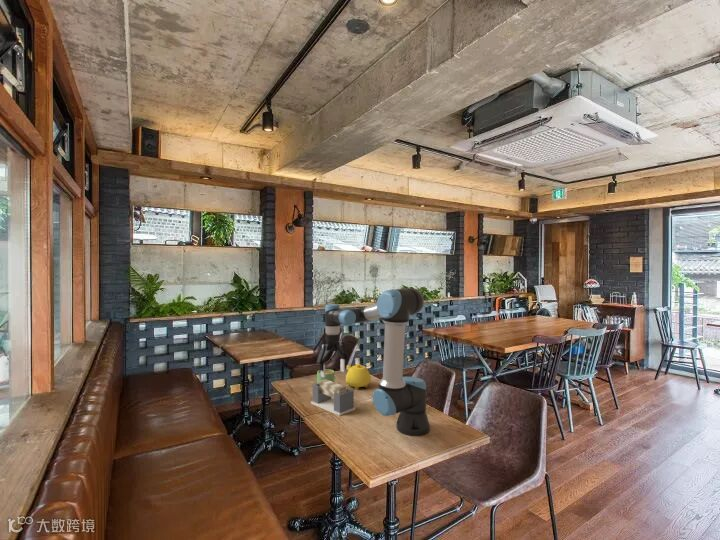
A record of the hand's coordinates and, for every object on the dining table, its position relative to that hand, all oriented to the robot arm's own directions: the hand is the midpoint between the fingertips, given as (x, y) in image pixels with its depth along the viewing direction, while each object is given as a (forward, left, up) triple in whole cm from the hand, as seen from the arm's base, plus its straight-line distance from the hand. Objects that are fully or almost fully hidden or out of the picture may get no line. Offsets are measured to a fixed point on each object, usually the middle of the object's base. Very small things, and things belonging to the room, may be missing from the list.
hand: (333, 374), depth 199 cm
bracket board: (0, 0, -17) cm, 17 cm away
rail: (+1, 0, -11) cm, 11 cm away
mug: (+20, -13, -18) cm, 30 cm away
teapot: (+16, -33, -18) cm, 41 cm away
